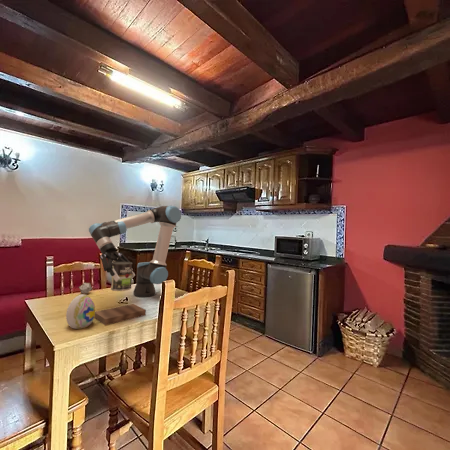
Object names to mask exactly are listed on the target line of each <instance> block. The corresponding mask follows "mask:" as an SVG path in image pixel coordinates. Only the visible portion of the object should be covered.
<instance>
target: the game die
mask: <svg viewBox="0 0 450 450" xmlns="http://www.w3.org/2000/svg"><path fill="white" fill-rule="evenodd" d="M91 283H92V282H85V281H84V282H83V283H82V284H81V285H80V286H77V288H79V291H80V294H84V295H88V294H89V292H90V291H92V290H93V287H92V285H91Z"/></svg>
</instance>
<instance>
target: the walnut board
mask: <svg viewBox="0 0 450 450" xmlns="http://www.w3.org/2000/svg"><path fill="white" fill-rule="evenodd" d="M146 313H147V312H146V309H145V308H143V307H140V306H138V305H137V304H134V303H131V304H125V305H121V306H117V307H111V308H106V309H101V310H97V311H96V310H95V317H94V320H97V321H98V322H99V323H100V324H102V325H104V326H107V325H110V324H111V325H112V324H115V323H116V324H117V323H119V322H124V321H127V320H132V319H136V318H140V317H145V316H146Z"/></svg>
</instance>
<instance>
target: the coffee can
mask: <svg viewBox="0 0 450 450" xmlns="http://www.w3.org/2000/svg"><path fill="white" fill-rule="evenodd" d="M133 264H134V263H133V262H132V261H130V262H116V261H112V269H114V270H115V271H116V273H117V274H118V276H119V278H120V279H119V280H118V281H117V282H116V281H115V280H114V278H113V276H111V286H110V290H111V291H114V292H125V291H130V290H131V289H132V279H133V278H132V270H133Z"/></svg>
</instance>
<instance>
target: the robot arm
mask: <svg viewBox="0 0 450 450" xmlns="http://www.w3.org/2000/svg"><path fill="white" fill-rule="evenodd" d="M181 219H182V211H181V210H180V208H179V207H177V206H175V205H162V206H158V207H156V208H151V209H149V210H148V209H147V211H145V212H143V213H138V214H135V215H129V216H127V217H123V218H119V219H115V220H111V221H104V222H101V223H99V222H98V223H97V222H96V223H93V224H91V225H90V226H89V227H88V232H89V234H90V236H91V238H92V239H93V241H94V242H95V244H96V246H97V248H98V249H99V251H100V253H101V254H100V256H99V258H100V260H101V263H102V267H103V271H104V272H107V273H109V274H110V276H111V277H112V276H113V278H114V280H115V281H116V282H117V281H118V280H119V279H120V278H119V276H118V274H117V273H116V271H115V270H114V269H112V263H113V262H131V261H130V260H129V259H128V257H126V256H125V255H124V253H123V252H122V251H120V252H118V251H117V247H116V246H115V244H114V243H113V241H112V240H111V238H113V237H115V236H119V235H122V234H125V233H126V232H127V230H128V229H130V228H134V227H138V226H142V225H145V224H149V223H150V224H153V223H158V224H159V225H160V227H159V231H158V235H157V240H156V244H155V247H154V248H155V249H154V252H153V255H152V256H153V257H152V260H150V261H144V262H138V263H137V266H136V274H135V272H134V270H133V269H132V279H133V278H134V277H135V276H136V285H135V287H134V289H133V293H132V295H133V296H134V297H137V298H138V297H139V298H147V297H154V296H156V288H155V285H161V284H163V283H164V282H165V281H166V280H167V279H168V276H169V271H168V269H167V263H166V261H167V256H168V253H169V252H168V251H169V247H170V244H171V239H172V236H173V230H174V228H176V226H177V223H179V222H180V221H181ZM163 281H164V282H163ZM162 282H163V283H162Z"/></svg>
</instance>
